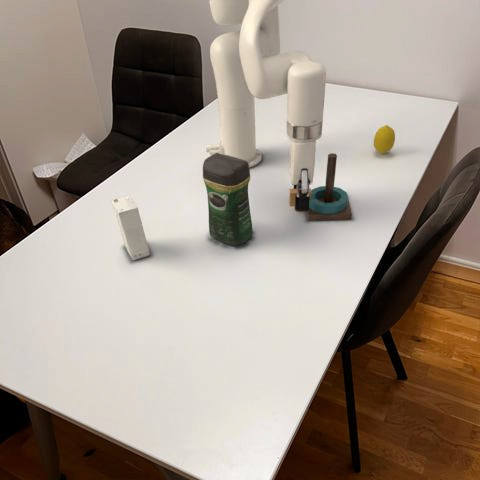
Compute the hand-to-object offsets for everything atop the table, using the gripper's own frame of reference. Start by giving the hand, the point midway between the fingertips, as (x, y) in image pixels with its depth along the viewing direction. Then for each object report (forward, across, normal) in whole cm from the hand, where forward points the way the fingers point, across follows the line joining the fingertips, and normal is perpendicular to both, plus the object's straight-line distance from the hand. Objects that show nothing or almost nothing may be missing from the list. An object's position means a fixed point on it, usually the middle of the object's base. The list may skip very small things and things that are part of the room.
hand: (300, 201), depth 112 cm
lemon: (+2, -27, +24) cm, 37 cm away
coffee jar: (+2, +10, -16) cm, 19 cm away
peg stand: (+2, 0, +6) cm, 7 cm away
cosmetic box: (+2, +15, -38) cm, 40 cm away
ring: (0, 0, +4) cm, 4 cm away
